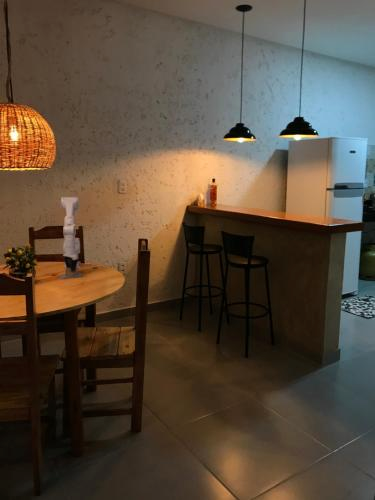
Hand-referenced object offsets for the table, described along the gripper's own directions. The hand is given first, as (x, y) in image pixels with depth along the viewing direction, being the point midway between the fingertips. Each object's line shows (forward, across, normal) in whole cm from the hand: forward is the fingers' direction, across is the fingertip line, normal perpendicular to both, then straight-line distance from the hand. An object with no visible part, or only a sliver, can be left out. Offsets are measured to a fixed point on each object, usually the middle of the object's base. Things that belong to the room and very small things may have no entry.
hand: (70, 269), depth 233 cm
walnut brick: (+3, 0, 0) cm, 3 cm away
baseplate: (+4, 0, 0) cm, 4 cm away
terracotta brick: (+4, -7, +4) cm, 9 cm away
